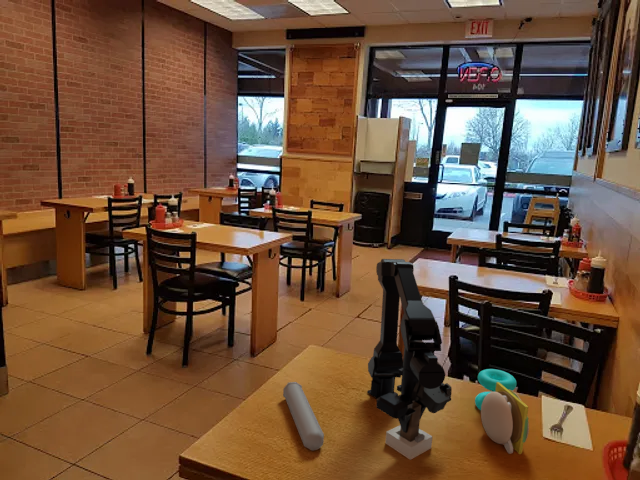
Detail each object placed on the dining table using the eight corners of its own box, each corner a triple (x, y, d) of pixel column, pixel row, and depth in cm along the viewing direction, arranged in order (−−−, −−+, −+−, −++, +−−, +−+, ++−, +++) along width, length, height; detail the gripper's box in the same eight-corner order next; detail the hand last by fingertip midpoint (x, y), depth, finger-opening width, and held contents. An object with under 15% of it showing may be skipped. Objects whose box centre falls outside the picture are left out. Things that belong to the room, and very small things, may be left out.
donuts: (517, 371, 133) (517, 387, 124) (512, 405, 134) (512, 422, 125) (479, 364, 136) (477, 378, 127) (475, 396, 138) (473, 413, 129)
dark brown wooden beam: (407, 434, 115) (411, 399, 113) (417, 440, 112) (421, 405, 111) (399, 438, 113) (402, 403, 111) (409, 444, 110) (412, 409, 109)
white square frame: (406, 432, 118) (407, 417, 117) (431, 447, 112) (432, 432, 112) (385, 443, 113) (386, 427, 112) (410, 459, 107) (411, 443, 107)
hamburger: (472, 426, 122) (477, 383, 120) (501, 424, 124) (507, 381, 122) (498, 455, 111) (504, 408, 109) (530, 453, 112) (537, 406, 110)
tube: (330, 436, 108) (304, 383, 132) (309, 432, 107) (286, 379, 130) (322, 457, 109) (297, 401, 132) (301, 453, 107) (280, 397, 131)
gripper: (416, 393, 97) (410, 462, 100) (469, 370, 109) (462, 432, 112) (377, 372, 106) (372, 436, 108) (429, 353, 118) (424, 411, 120)
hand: (409, 429), depth 112 cm, fingers closed on dark brown wooden beam, 3 cm apart
